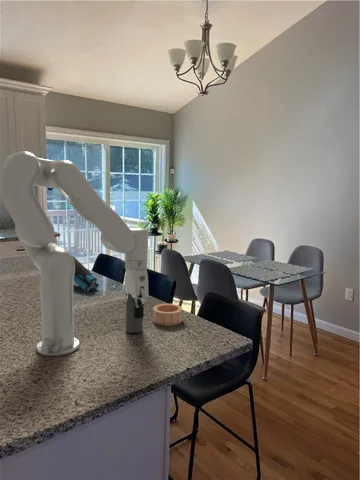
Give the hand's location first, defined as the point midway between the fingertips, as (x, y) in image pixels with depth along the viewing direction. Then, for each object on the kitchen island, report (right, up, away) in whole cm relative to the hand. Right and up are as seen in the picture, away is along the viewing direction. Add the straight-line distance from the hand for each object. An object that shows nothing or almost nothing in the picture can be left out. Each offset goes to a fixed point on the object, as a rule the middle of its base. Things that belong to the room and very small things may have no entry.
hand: (134, 314), depth 129 cm
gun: (-35, +3, +56) cm, 66 cm away
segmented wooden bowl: (+11, -5, +12) cm, 17 cm away
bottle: (0, -6, +1) cm, 6 cm away
